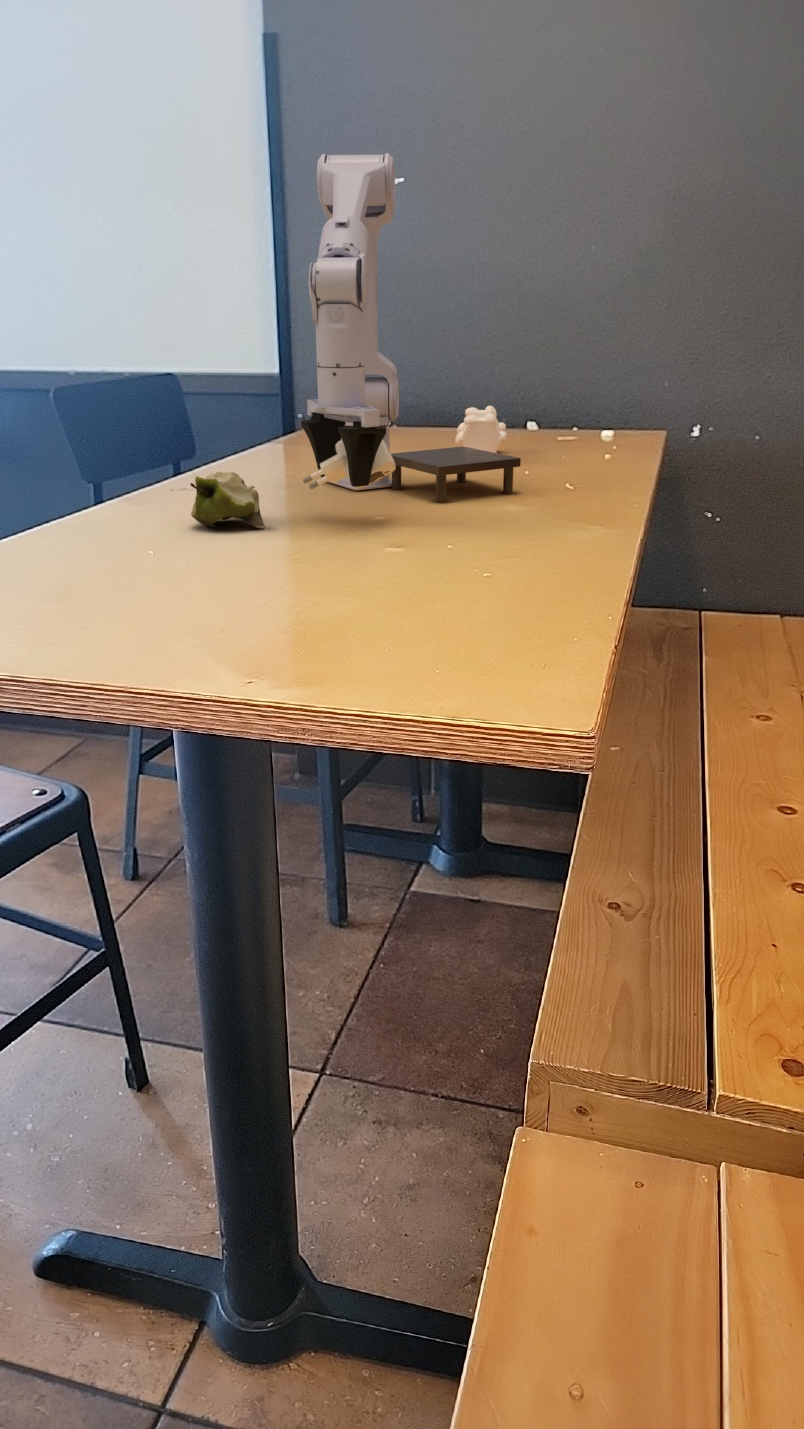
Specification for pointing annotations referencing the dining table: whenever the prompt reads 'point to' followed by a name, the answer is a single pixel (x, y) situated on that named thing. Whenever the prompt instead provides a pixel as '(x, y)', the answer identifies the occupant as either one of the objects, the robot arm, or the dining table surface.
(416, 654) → the dining table surface
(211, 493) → the fruit
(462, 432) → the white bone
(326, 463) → the power adapter
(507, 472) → the stool
